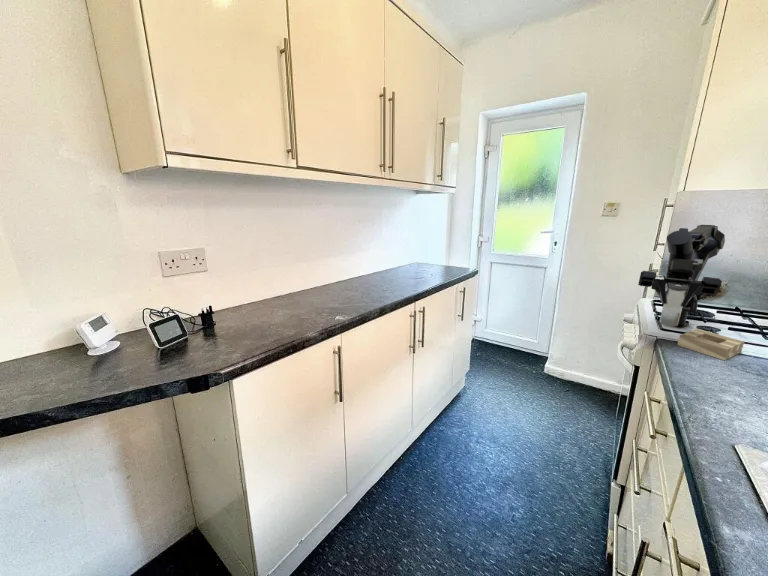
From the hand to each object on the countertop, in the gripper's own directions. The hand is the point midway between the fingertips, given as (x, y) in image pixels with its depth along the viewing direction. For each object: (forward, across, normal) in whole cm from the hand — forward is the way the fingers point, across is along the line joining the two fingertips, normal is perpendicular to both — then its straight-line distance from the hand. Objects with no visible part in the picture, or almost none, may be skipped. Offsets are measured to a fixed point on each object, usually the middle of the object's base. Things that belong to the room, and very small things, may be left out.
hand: (673, 304), depth 97 cm
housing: (+6, +11, +13) cm, 18 cm away
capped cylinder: (+4, 0, +6) cm, 7 cm away
